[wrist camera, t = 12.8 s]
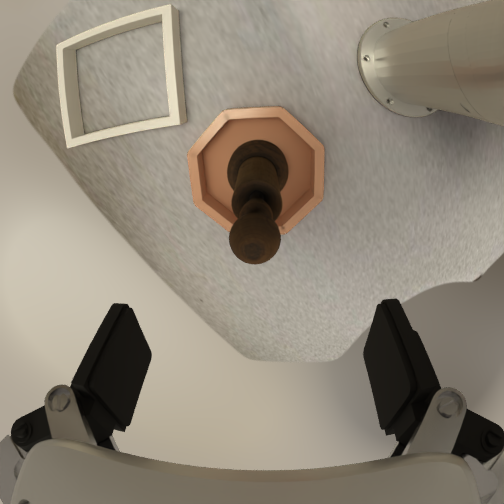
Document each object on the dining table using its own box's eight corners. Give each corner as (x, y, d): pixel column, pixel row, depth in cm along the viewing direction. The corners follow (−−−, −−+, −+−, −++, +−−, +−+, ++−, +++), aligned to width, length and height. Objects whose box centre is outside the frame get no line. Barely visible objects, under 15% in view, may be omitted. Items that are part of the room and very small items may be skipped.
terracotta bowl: (317, 106, 28) (324, 107, 25) (316, 220, 35) (321, 233, 32) (190, 112, 29) (182, 115, 26) (204, 224, 36) (199, 237, 33)
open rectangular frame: (178, 10, 22) (170, 4, 20) (187, 121, 29) (180, 124, 27) (69, 46, 23) (56, 44, 20) (80, 143, 30) (67, 148, 28)
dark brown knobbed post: (276, 202, 33) (288, 307, 18) (222, 187, 33) (186, 282, 17) (294, 149, 30) (331, 214, 15) (237, 132, 29) (209, 178, 14)
